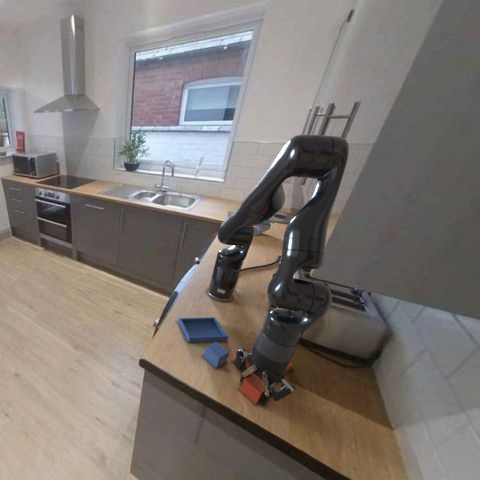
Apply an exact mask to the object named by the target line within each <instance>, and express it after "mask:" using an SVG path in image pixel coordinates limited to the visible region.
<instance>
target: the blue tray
mask: <svg viewBox="0 0 480 480" xmlns="http://www.w3.org/2000/svg"><path fill="white" fill-rule="evenodd" d="M177 323H178V325H179V326H180V328H181V330H182V333H183V335H184V337H185V339H186V340H187V342H188V343H208V342H209V343H210V342H212V343H215V342H227V341H228V339H229V336H228V334H227V333H226V331H225V330H224V329H223V327H222V325H221V324H220V322H219V321H218V320H217V319H216V317H213V316H212V317H211V316H210V317H179V318H178V322H177Z"/></svg>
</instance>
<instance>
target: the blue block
mask: <svg viewBox="0 0 480 480" xmlns="http://www.w3.org/2000/svg"><path fill="white" fill-rule="evenodd" d="M229 354H230V351H229V350H227V349H226V348H225V347H223V345H221V344H219V342H218V341H215V342H212V343H211V344H209V345H208V346H206V347H205V351H204V355H203V358H204V359H205V360H206V361H207V362H208V363H210V364H211V365H212V366H213V367H214V368H215V369H217V368H219V367H220V366H222V365H224V364H226V363H227V360H228V358H229Z"/></svg>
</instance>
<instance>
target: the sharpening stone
mask: <svg viewBox="0 0 480 480" xmlns="http://www.w3.org/2000/svg"><path fill="white" fill-rule="evenodd" d="M234 212H235V211H227V213H226V214H227V218H228V217H230V216H231V215H232V214H233V213H234ZM275 223H276V221H275V219H274V216H273V217H272V218H270V219H269V220H267V221H265V222H263V223H261V224H258V225H254V236H258V235H260V234H262V233H265V232H266V231H269V230H271V227H272V225H271V224H275Z"/></svg>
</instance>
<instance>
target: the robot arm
mask: <svg viewBox="0 0 480 480" xmlns="http://www.w3.org/2000/svg"><path fill="white" fill-rule="evenodd" d="M349 155H350V145H349V142H348V141H347V139H346V138H345V137H342V136H338V135H337V136H336V135H323V134H321V135H320V134H297V135H295V136H293V137H291V138H290V139H288V140H287V141H286V142H285V144H284V145H283V146H282V148H281V149H280V151H279V152H278V154H277V155H276V157H275V158H274V159H273V161H272V163H271V164H270V166H269V167H268V169H267V171H266V172H265V174H264V175H263V176H262V177H261V179H260V180H259V181H258V182H257V184H256V185H255V186H254V187H253V188H252V190H251V191H250V192H249V193H248V194H247V196H246V197H245V198H244V199H243V200H242V202H241V203H240V205H239V206H237V208H236V210H234V211H233V212H234V213H233V214H232V215H231V216H230V217H228V216H227V218H226V219H225V220H224V221H223V222H222V223H221V224H220V226H219V228H218V230H217V239H218V241H219V242H220V243H221V244H223V245H225V246H228V247H223V248H220V249H219V250H218V251H217V255H216V258H215V263H214V266H213V270H212V274H211V276H210V277H211V278H210V280H209V281H210V282H209V285H208V288H207V294H208V296H210V297H211V298H213V299H214V300H217V301H220V302H229V301H231V300H232V299H233V297H234V294H235V290H236V289H237V288H236V287H237V285H238V281H239V279H240V277H239V276H240V273H241V272H245V271H249V270H255V269H262V268H267V267H271V266H273V265H276V264H278V265H277V266H276V270H275V272H274V274H273V276H272V277H271V280H270V281H269V284H268V286H267V288H266V289H267V290H266V295H267V299H268V301H269V303H270V304H271V305H272V306H274V307H275V308H273V309H274V310H271V309H270V311H269V312H267V315H266V317H265V320H264V322H263V324H262V326H261V329H260V330H259V332H258V333H257V336H256V337H255V341H254V343H253V346H252V347H251V349H252V350H251V353H248V352H247V350H246V348H245V347H241V348H239V349H238V350H236V352H235V359H236V364H235V367H236V369H237V370H238V371H240V373H241V376H240V379H239V382H240V387H241V386H242V383H243V381H244V379H245V378H247V377H248V376H250V374H251V373H254V374H255V375H256V376H258V377H259V378H260V379H261V380H262V381H263V387H264V393H263V394H262V396H261V398H260V400H259V401H260V402H259V403H261V404H267V403H269V402H270V400H271V399H272V400H273V401H275V402H279V401H280V400H282V399H284V398H286V397H287V396H289V395H291V394H292V393H293V392H294V391H296V390H297V388H296V386H295V385H293V384H289V383H288V382H287V381H286V379H285V374H284V372H285V371H286V369H287V367H288V365H289V363H290V362H291V361H292V358H293V357H294V355H295V352H296V350H297V347H298V344H299V342H300V340H301V338H302V336H303V334H304V332H306V331H307V330H308V329H309V328H310V327H311V326H313V325H314V324H315V323H316V322H318V321H319V320H320V319H321V318H323V317H324V316H325V315H326V314H327V313H328V311H329V310H330V308H331V306H332V304H333V295H332V292H331V290H330V288H329V286H327V285H326V284H325V283H322V282H319V281H314V280H308V279H302V278H296V277H294V276H295V274H296V273H297V272H298V271H301V270H319V269H320V268H322V266H323V265H324V262H325V254H326V245H327V235H328V234H327V233H328V227H329V222H330V220H331V219H330V218H331V215H332V211H333V209H334V206H335V203H336V200H337V198H338V194H339V192H340V191H339V190H340V187H341V183H342V180H343V178H344V174H345V171H346V168H347V165H348V160H349ZM289 178H302V179H304V178H305V179H312V180H313V179H314V189H313V192H312V193H311V196H310V198H309V199H308V200H307V202H306V203H304V205H303V206H302V207H301V209H299V210H298V212H296V213H295V215H294V216H293V217H292V218H291V219H290V221H289V222H288V223H287V225H286V227H285V230H284V234H283V241H282V250H281V254H279V255H278V257H277V259H276V260H274V261H273V262H271V263H267V264H263V265H256V266H252V267H245V268H242V267H243V263H244V261H245V259H246V258H247V256H248V253H249V250H250V247H251V246H252V243H253V239H254V236H255V235H254V227H255V226H254V225H258V224H261V223H263V222H265V221H267V220H269V219H270V218H272V217H273V218H274V216H275V215H276V214H277V213H278V212H279V211H281V210H282V209H283V207H284V205H285V203H286V194H285V189H284V187H283V183H284V182H285V181H286V180H287V179H289ZM277 307H278V308H283V309H277ZM246 358H247V359H248V362H249V365H250V367H249V368H248V369H247V368H246ZM276 384H280V386H279V387H280V389H279V391H276Z"/></svg>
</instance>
